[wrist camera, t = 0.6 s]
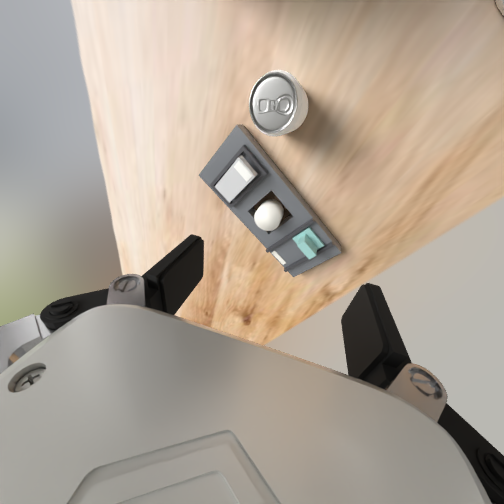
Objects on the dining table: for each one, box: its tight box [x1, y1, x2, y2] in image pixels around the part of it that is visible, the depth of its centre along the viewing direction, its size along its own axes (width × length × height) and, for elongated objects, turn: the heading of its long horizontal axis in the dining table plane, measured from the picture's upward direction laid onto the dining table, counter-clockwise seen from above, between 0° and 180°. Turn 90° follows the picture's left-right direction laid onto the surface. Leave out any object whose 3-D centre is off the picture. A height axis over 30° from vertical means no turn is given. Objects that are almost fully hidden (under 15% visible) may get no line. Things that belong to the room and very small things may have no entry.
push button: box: [254, 199, 284, 231], centre depth 39 cm, size 5×5×4 cm
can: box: [249, 70, 308, 136], centre depth 27 cm, size 6×6×12 cm
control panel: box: [199, 125, 342, 277], centre depth 40 cm, size 12×30×4 cm, turn 45°
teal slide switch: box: [292, 226, 324, 259], centre depth 38 cm, size 4×5×4 cm
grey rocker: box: [215, 155, 257, 203], centre depth 36 cm, size 8×4×1 cm, turn 135°
